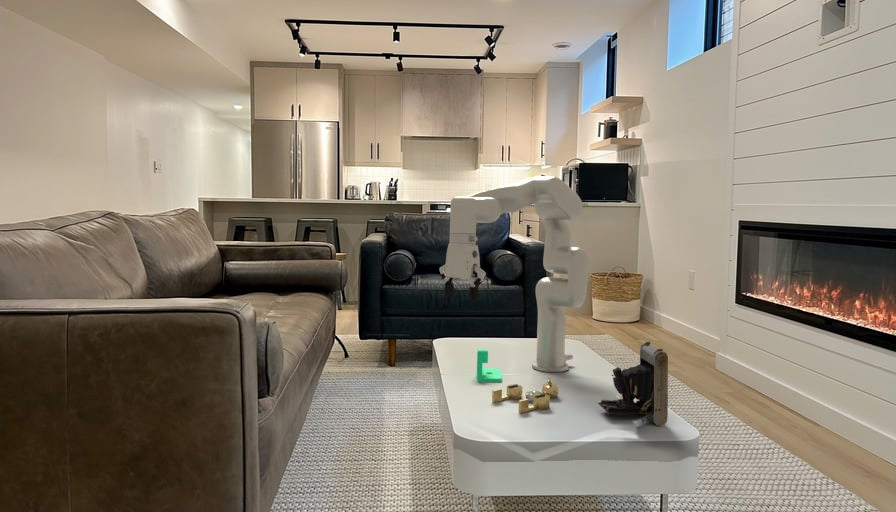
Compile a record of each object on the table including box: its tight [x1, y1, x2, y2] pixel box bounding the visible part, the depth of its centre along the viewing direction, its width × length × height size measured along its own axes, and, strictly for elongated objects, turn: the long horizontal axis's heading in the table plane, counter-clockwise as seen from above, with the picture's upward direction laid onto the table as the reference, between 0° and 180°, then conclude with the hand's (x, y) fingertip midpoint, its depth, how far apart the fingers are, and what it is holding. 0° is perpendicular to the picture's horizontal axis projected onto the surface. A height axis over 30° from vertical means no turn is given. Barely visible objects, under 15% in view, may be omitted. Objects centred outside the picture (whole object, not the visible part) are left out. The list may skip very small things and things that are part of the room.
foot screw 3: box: [541, 377, 559, 400], centre depth 168 cm, size 10×4×4 cm, turn 172°
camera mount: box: [476, 348, 503, 383], centre depth 184 cm, size 12×8×10 cm, turn 178°
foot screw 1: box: [491, 383, 523, 403], centre depth 162 cm, size 10×4×4 cm, turn 127°
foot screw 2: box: [518, 394, 551, 414], centre depth 154 cm, size 10×4×4 cm, turn 127°
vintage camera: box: [597, 341, 669, 427], centre depth 150 cm, size 10×15×20 cm, turn 95°
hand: (461, 298), depth 168 cm, fingers open, 9 cm apart
